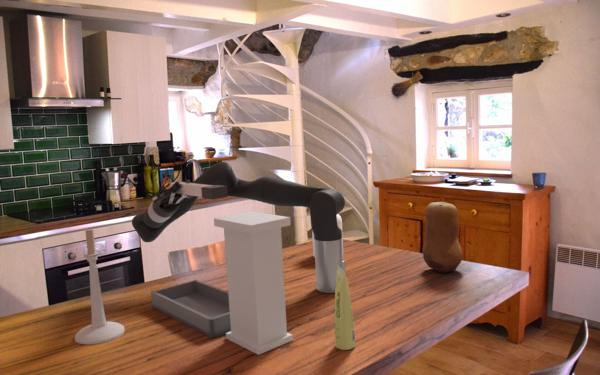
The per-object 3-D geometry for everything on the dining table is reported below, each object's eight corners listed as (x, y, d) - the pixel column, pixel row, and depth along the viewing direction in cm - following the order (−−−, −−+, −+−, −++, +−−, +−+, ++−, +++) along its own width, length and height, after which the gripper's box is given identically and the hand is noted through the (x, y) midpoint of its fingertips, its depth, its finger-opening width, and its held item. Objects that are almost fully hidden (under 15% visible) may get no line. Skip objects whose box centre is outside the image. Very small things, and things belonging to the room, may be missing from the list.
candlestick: (112, 321, 148) (102, 221, 144) (132, 332, 138) (122, 226, 135) (67, 335, 139) (55, 229, 135) (86, 348, 130) (73, 235, 126)
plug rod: (167, 192, 153) (167, 183, 152) (182, 190, 156) (181, 181, 156) (211, 199, 134) (211, 188, 134) (227, 197, 138) (226, 186, 137)
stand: (222, 338, 132) (213, 218, 128) (258, 324, 140) (251, 211, 136) (259, 356, 120) (250, 225, 116) (296, 340, 128) (290, 217, 124)
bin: (152, 307, 158) (151, 291, 158) (197, 294, 169) (195, 279, 168) (211, 338, 132) (210, 320, 131) (260, 320, 143) (259, 303, 142)
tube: (329, 346, 123) (325, 269, 121) (341, 339, 127) (337, 264, 125) (348, 352, 120) (344, 273, 117) (359, 345, 124) (356, 268, 121)
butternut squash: (466, 268, 182) (466, 200, 179) (456, 278, 171) (455, 206, 168) (429, 264, 190) (428, 198, 187) (417, 273, 178) (415, 204, 175)
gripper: (139, 199, 158) (158, 174, 146) (179, 194, 167) (200, 170, 155) (146, 221, 156) (166, 197, 144) (186, 214, 165) (208, 191, 153)
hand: (184, 183), depth 150 cm, fingers closed on plug rod, 3 cm apart
